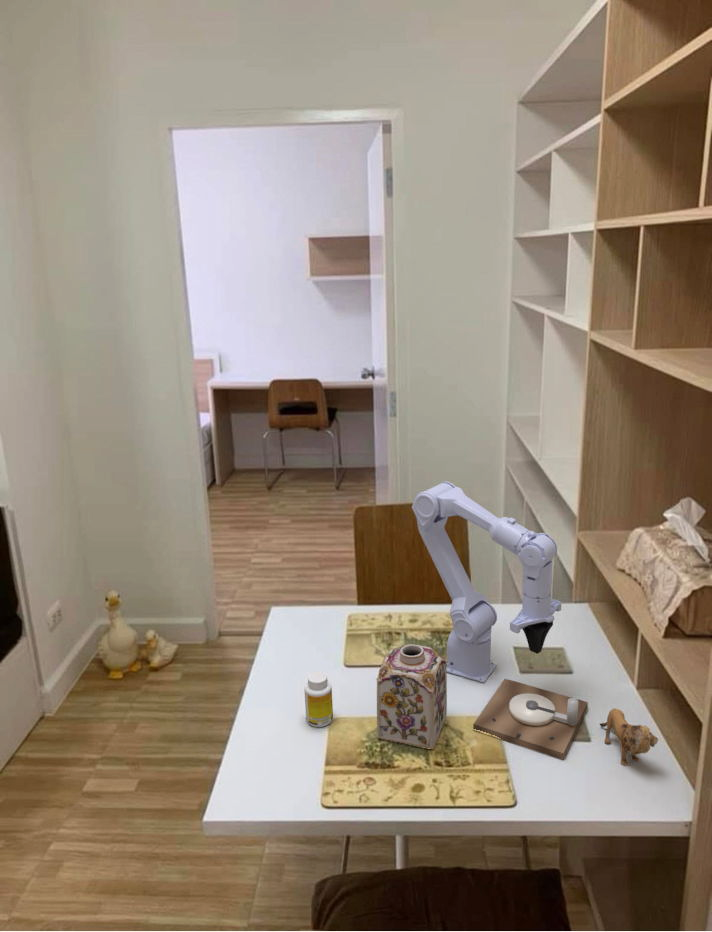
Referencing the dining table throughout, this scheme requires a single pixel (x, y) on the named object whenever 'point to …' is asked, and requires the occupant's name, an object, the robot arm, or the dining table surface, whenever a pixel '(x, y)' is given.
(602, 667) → the dining table surface
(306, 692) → the supplement bottle
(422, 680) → the decorative jar
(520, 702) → the dial
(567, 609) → the dining table surface
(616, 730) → the lion figurine
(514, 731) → the board
